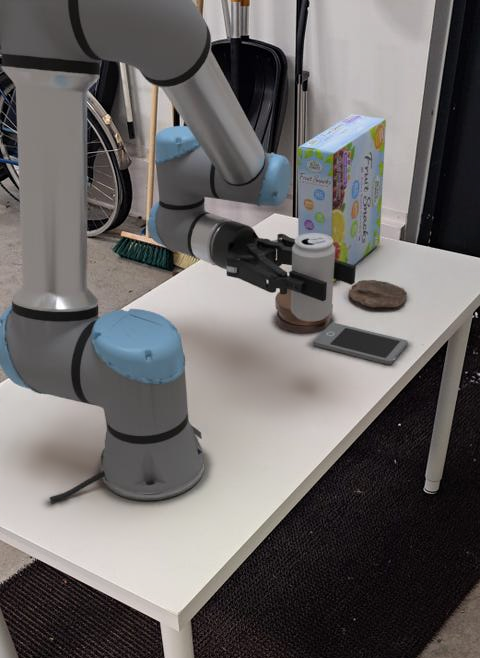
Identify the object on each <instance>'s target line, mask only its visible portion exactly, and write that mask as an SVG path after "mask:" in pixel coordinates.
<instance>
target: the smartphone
mask: <svg viewBox="0 0 480 658" xmlns="http://www.w3.org/2000/svg"><path fill="white" fill-rule="evenodd" d="M312 345H313V346H315V347H318V348H322V349H326V350H330V351H333V352H334V351H335V352H338V353H341V354H344V355H345V354H346V355H349V356H353V357H357V358H361V359H365V360H369V361H372V362H377V363H381V364H384V365H392V363H394V361H395V360H397V358H398V357H399V356H400V354H401V353H402V352H403V351H404V349H406V347H407V346H408V340H407V339H403V338H400V337H395V336H391V335H387V334H383V333H379V332H374V331H371V330H366V329H362V328H357V327H354V326H350V325H346V324H341V323H337V322H330V324H329V325H328V326H327V327H326V328H325V329H323V330H322V332H320V334H319V335H318V336H316V338H315V339H314V340H313V342H312Z"/></svg>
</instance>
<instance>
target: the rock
mask: <svg viewBox="0 0 480 658" xmlns="http://www.w3.org/2000/svg"><path fill="white" fill-rule="evenodd" d="M348 296H349V298H350V299H351V300H352V301H354V302H356V303H359V304H361V305H364V306H366V307H369V308H397V307H399V306H401V305H402V304H404V303H405V301H406V299H407V298H408V293H407V291H406V290H405V289H403V288H401V287H400V286H398V285H395V284H392V283H391V282H388V281H381V280H376V279H367V280H366V279H363V280H359V281H357V282H355V283H354V284H352V285H351V289H349V291H348Z"/></svg>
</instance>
